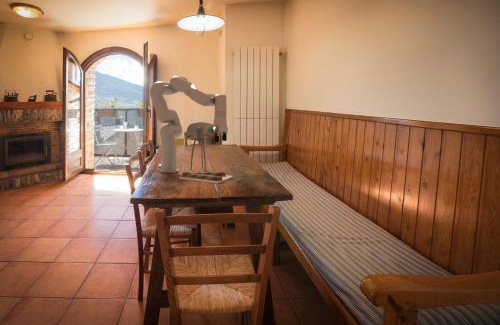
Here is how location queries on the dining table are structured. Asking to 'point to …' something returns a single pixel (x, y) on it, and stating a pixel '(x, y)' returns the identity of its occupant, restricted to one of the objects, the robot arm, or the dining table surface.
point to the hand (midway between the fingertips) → (220, 141)
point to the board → (208, 180)
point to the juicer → (199, 135)
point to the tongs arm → (211, 173)
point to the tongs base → (201, 176)
